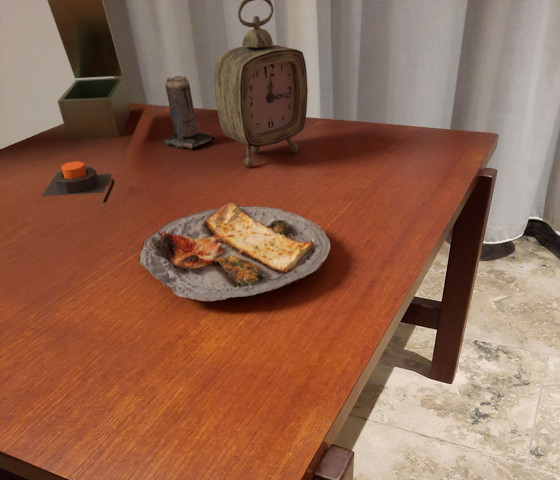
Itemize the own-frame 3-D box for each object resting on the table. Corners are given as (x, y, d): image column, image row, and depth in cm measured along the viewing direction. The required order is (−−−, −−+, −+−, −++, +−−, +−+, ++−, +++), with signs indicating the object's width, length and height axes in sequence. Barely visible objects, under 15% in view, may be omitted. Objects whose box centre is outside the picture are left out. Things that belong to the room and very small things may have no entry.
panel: (44, 206, 90) (37, 185, 87) (56, 186, 96) (50, 166, 93) (106, 202, 90) (101, 181, 88) (114, 183, 96) (110, 163, 94)
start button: (62, 181, 89) (58, 170, 88) (67, 172, 92) (64, 162, 91) (84, 179, 89) (81, 169, 88) (89, 171, 92) (86, 160, 91)
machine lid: (99, -11, 101) (101, -26, 104) (44, -8, 101) (48, -23, 104) (122, 76, 116) (124, 60, 118) (74, 78, 116) (77, 63, 118)
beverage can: (160, 148, 108) (149, 80, 100) (180, 135, 114) (171, 70, 106) (201, 152, 106) (192, 84, 98) (219, 139, 111) (212, 73, 103)
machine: (120, 145, 110) (110, 98, 104) (70, 148, 110) (57, 100, 104) (132, 121, 122) (123, 77, 116) (86, 123, 122) (75, 79, 116)
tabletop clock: (245, 173, 97) (232, 3, 81) (216, 159, 103) (199, -2, 86) (307, 152, 104) (307, -9, 87) (277, 140, 109) (272, -13, 93)
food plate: (115, 253, 77) (109, 229, 75) (252, 205, 87) (250, 183, 85) (210, 336, 62) (206, 310, 59) (362, 266, 72) (364, 241, 70)
